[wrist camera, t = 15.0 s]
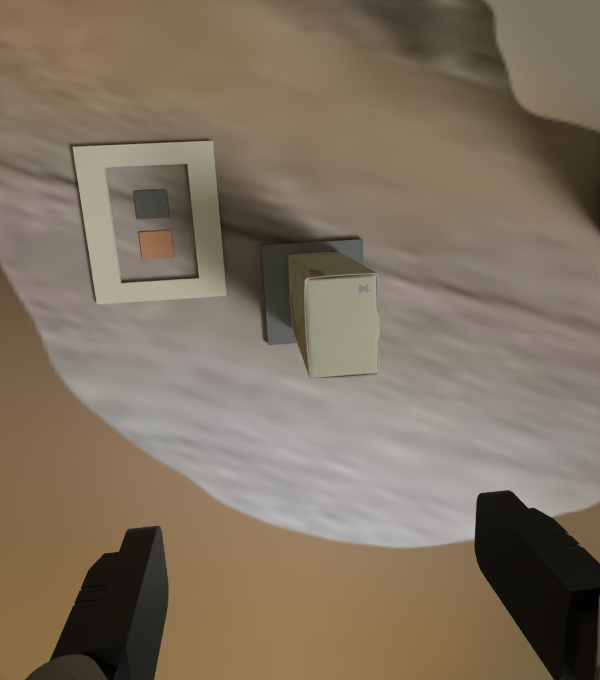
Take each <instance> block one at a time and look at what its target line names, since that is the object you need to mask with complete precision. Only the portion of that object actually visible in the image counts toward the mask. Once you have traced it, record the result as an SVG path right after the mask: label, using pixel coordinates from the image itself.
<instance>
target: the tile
mask: <svg viewBox="0 0 600 680" xmlns="http://www.w3.org/2000/svg"><path fill="white" fill-rule="evenodd" d="M261 251H262V265H263V279H264V293H265V307H266V321H267V335H268V345H276V344H289V343H297V340H296V337H295V335H294V332H293V329H292V319H291V308H290V297H289V273H288V257H289V255H294V254H304V253H321V252H341V253H343V254H344V255H346V256H348V257H350V258H351V259H353V260H355V261H357V262H358V263H360V264H362V265H363V239H354V240H338V241H321V242H304V243H287V244H270V245H261Z"/></svg>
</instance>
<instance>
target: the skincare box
mask: <svg viewBox="0 0 600 680" xmlns="http://www.w3.org/2000/svg"><path fill="white" fill-rule="evenodd" d="M288 273H289V297H290V308H291V319H292V329H293V332H294V335H295V337H296V340H297V343H298V346H299V349H300V351H301V354H302V357H303V360H304V363H305V366H306V369H307V371H308V374H309V377H310V379H330V378H350V377H366V376H376V375H378V374H379V372H380V342H379V335H380V333H379V285H378V278H379V277H378V274H377V273H376V272H374V271H372V270H371V269H369V268H367V267H366V266H364V265H362V264H360V263H358V262H357V261H355V260H353V259H351V258H350V257H348V256H346V255H344V254H343V253H341V252H321V253H304V254H294V255H289V257H288Z"/></svg>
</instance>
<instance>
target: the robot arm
mask: <svg viewBox="0 0 600 680" xmlns="http://www.w3.org/2000/svg"><path fill="white" fill-rule="evenodd" d="M475 554H476V558H477V562H478V565H479V567H480V570H481V571H482V573H483V575H484V576H485V578H486V579H487V581H488V582H489V584H490V585H491V587H492V588H493V590H494V591H495V592H496V594H497V596H498V597H499V599H500V600H501V602H502V603H503V604H504V606H505V607H506V609H507V610H508V612H509V613H510V615H511V616H512V618H513V619H514V621H515V622H516V624H517V625H518V627H519V628H520V630H521V631H522V633H523V634H524V636H525V637H526V639H527V640H528V641H529V643H530V644H531V646H532V648H533V649H534V651H535V652H536V653H537V655H538V657H539V658H540V660H541V661H542V662H543V664H544V665H545V667H546V668H547V670H548V671H549V673H550V674H551V676H552V677H553V679H554V680H600V563H599V562H598V561H597V560H595V558H594V557H592V556H591V555H590V554H589V553H588V552H587V551H586V550H585V549H584V548H583V547H580V544H579V543H578V542H577V541H576V540H575V539H574V538H573V537H572V536H569V535H568V532H567V531H566V530H565V529H564V528H563V527H562V526H561V525H560V524H559V523H558V522H556V521H555V520H554V519H553V518H551V517H549V516H548V515H546V514H544V513H542V512H540V511H539V510H537V509H535V508H529V509H528V508H527V507H526V506H525V504H524V503H523V502H522V501H521V500H520V499H519V498H518V497H517V496H516V495H515V494H514V493H513V492H511V491H509V490H506V491H496V492H487V493H480V494H479V495H478V498H477V506H476V526H475ZM167 607H168V577H167V569H166V561H165V554H164V545H163V537H162V531H161V528H160V526H152V527H142V528H133V529H128V530H127V531H126V534H125V537H124V540H123V543H122V545H121V548H120V551H119V552H114V553H105V554H104V555H102V557H101V558H100V559H99V560H98V561H97V562H96V563H95V564H94V565H93V566H92V567H91V568H90V569H89V571H88V573H87V575H86V577H85V580H84V582H83V584H82V587H81V591H79V594H78V596H77V598H76V601H75V606H73V608H72V610H71V612H70V615H69V617H68V619H67V622H66V624H65V626H64V629H63V631H62V634H61V636H60V638H59V640H58V643H57V645H56V647H55V650H54V652H53V655H52V657H51V659H50V661H49V662H47V663H45V664H43V665H42V666H40V667H39V668H37V669H36V670H35V671H33V672H32V673H31V674H30V675H29V676H28V677H27V678H26V679H25V680H154V677H155V672H156V667H157V661H158V656H159V651H160V645H161V640H162V635H163V629H164V624H165V618H166V613H167Z"/></svg>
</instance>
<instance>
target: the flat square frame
mask: <svg viewBox="0 0 600 680" xmlns="http://www.w3.org/2000/svg"><path fill="white" fill-rule="evenodd" d="M73 153H74V160H75V166H76V173H77V179H78V185H79V192H80V198H81V205H82V211H83V218H84V224H85V231H86V237H87V243H88V250H89V256H90V263H91V269H92V276H93V282H94V289H95V295H96V302H97V304H110V303H125V302H140V301H155V300H170V299H185V298H200V297H215V296H227V291H226V280H225V268H224V257H223V246H222V235H221V224H220V213H219V202H218V190H217V179H216V168H215V157H214V146H213V141H195V142H172V143H149V144H126V145H103V146H79V147H73ZM179 164H187V165H188V175H189V184H190V194H191V204H192V214H193V223H194V233H195V243H196V253H197V262H198V272H199V278H189V279H173V280H157V281H142V282H126V283H122V280H121V273H120V266H119V259H118V252H117V245H116V238H115V231H114V223H113V216H112V209H111V202H110V195H109V188H108V181H107V174H106V168H115V167H136V166H158V165H179ZM134 198H135V206H136V214H137V219H143V218H162V217H169V209H168V200H167V191H166V190H150V191H134ZM139 237H140V245H141V252H142V259H147V258H163V257H174V253H173V244H172V235H171V231H153V232H139Z"/></svg>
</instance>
